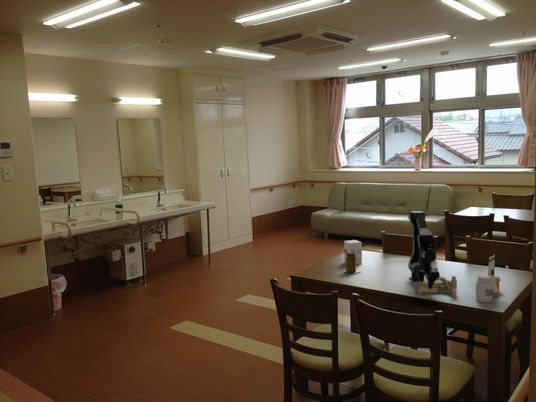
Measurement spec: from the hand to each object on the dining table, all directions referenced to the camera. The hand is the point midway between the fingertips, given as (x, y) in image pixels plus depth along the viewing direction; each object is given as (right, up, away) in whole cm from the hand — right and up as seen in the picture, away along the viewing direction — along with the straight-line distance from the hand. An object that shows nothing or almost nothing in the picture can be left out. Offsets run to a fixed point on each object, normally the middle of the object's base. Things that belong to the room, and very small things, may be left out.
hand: (425, 286), depth 245 cm
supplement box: (-26, +3, +65) cm, 70 cm away
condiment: (-31, +1, +43) cm, 53 cm away
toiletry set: (+29, -3, -10) cm, 31 cm away
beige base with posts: (+10, -2, +2) cm, 10 cm away
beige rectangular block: (+2, -3, +1) cm, 4 cm away
